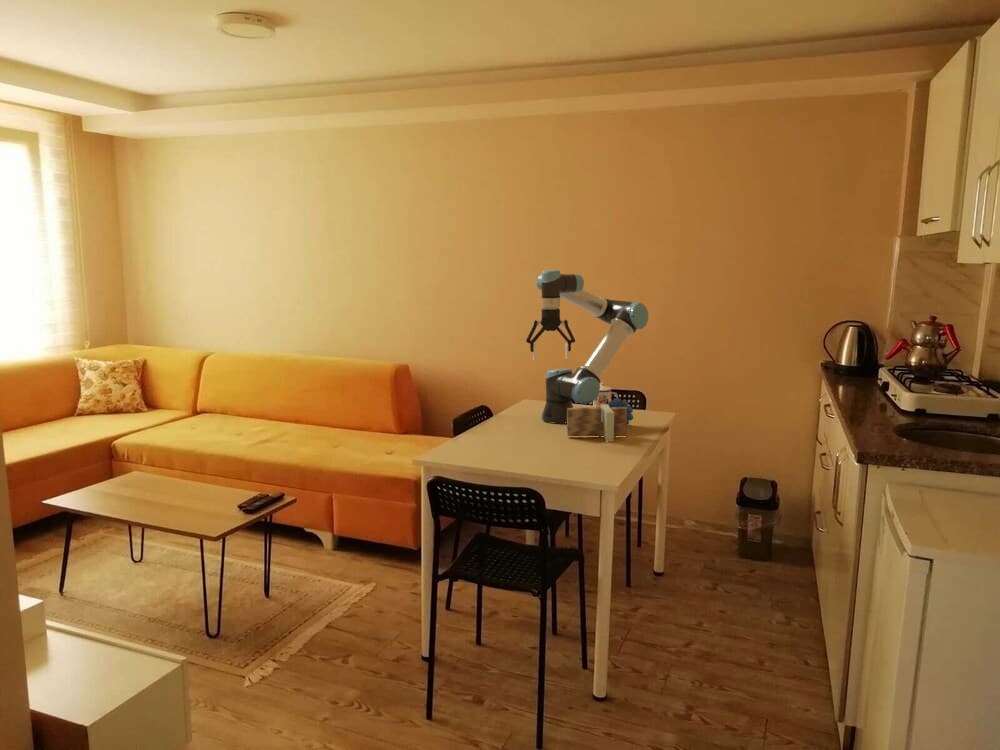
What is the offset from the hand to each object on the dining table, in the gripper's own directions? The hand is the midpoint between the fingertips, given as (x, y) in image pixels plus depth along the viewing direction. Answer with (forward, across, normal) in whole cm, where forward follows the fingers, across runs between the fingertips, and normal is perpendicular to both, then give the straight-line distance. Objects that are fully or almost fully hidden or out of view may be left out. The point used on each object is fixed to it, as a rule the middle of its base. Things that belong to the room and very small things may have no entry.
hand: (550, 359), depth 301 cm
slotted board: (+31, +18, -10) cm, 37 cm away
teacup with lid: (+31, +31, +45) cm, 63 cm away
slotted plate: (+31, +22, -10) cm, 39 cm away
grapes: (+31, +31, +8) cm, 44 cm away
